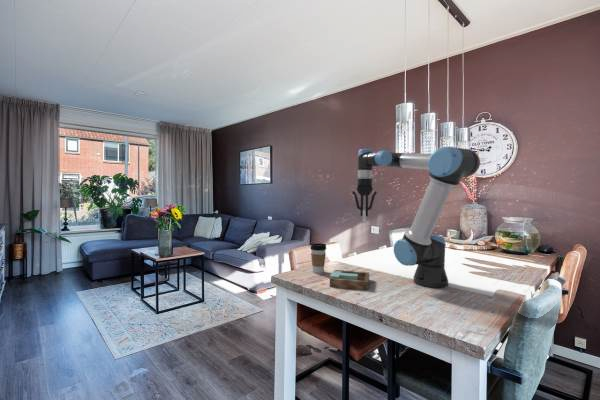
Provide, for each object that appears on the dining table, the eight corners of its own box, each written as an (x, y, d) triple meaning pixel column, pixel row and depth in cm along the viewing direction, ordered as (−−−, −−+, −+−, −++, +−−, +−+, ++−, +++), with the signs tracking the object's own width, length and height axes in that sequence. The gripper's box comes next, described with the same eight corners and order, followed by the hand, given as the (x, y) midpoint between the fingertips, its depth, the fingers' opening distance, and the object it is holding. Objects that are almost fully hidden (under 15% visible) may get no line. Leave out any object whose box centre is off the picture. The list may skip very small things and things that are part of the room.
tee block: (358, 280, 147) (358, 272, 147) (356, 287, 137) (356, 278, 137) (333, 278, 150) (333, 270, 150) (330, 284, 141) (330, 276, 140)
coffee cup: (325, 274, 156) (325, 245, 156) (308, 273, 158) (309, 245, 158) (326, 270, 165) (327, 242, 164) (311, 269, 166) (311, 242, 166)
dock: (369, 279, 149) (369, 272, 148) (367, 290, 133) (367, 282, 133) (335, 276, 153) (335, 269, 153) (329, 286, 138) (329, 278, 137)
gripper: (377, 178, 164) (376, 222, 165) (353, 178, 167) (352, 221, 168) (377, 178, 157) (376, 223, 158) (351, 178, 160) (351, 222, 161)
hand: (364, 222), depth 163 cm, fingers closed
